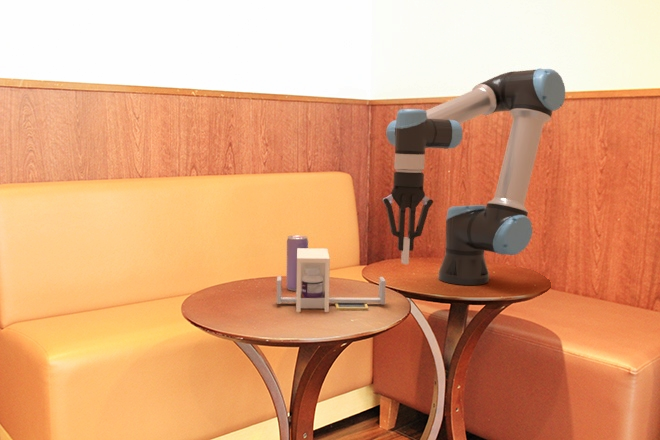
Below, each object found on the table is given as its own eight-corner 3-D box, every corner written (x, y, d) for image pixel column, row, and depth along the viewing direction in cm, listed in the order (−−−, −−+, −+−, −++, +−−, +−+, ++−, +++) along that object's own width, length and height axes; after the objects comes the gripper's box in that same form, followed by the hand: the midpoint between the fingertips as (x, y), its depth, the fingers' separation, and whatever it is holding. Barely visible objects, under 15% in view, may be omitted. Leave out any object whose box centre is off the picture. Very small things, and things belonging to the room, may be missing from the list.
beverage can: (304, 292, 179) (305, 238, 177) (284, 290, 180) (284, 237, 178) (309, 287, 184) (310, 235, 182) (289, 286, 186) (290, 234, 184)
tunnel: (326, 298, 173) (327, 248, 171) (328, 312, 159) (329, 258, 157) (296, 297, 172) (297, 248, 170) (296, 312, 158) (296, 258, 157)
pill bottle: (301, 302, 168) (301, 265, 167) (321, 302, 168) (322, 265, 167) (302, 307, 163) (302, 270, 161) (323, 307, 163) (323, 270, 162)
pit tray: (364, 300, 171) (364, 297, 171) (368, 310, 161) (368, 307, 161) (334, 299, 171) (334, 297, 171) (336, 310, 161) (336, 307, 161)
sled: (381, 300, 170) (382, 275, 170) (385, 308, 162) (386, 282, 161) (277, 299, 169) (277, 274, 168) (276, 308, 161) (276, 281, 160)
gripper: (431, 171, 166) (427, 261, 169) (381, 169, 165) (377, 260, 168) (437, 172, 159) (433, 266, 162) (385, 171, 158) (381, 265, 161)
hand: (404, 263), depth 165 cm, fingers closed
